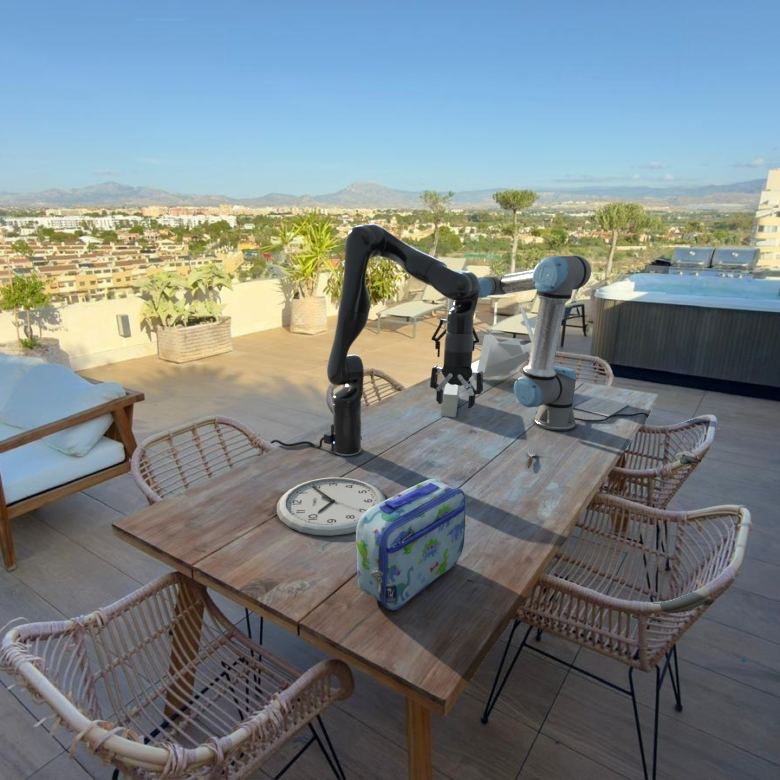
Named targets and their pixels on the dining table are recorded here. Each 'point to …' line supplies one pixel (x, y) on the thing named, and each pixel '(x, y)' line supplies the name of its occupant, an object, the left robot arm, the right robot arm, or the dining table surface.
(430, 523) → the lunch box
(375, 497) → the wall clock
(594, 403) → the invitation card
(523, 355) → the white plastic object
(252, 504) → the dining table surface
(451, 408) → the bar
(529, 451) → the fork
